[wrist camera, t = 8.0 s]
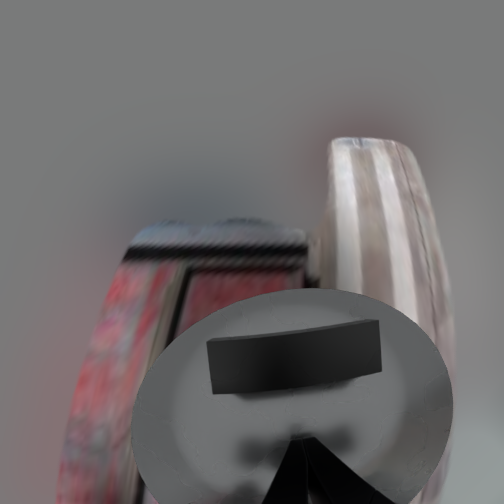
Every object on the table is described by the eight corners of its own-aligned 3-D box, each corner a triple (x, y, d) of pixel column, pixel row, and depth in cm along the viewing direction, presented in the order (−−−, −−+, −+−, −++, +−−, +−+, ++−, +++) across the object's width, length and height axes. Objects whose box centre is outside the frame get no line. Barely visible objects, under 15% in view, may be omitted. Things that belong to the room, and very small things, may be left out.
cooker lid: (423, 507, 7) (438, 525, 5) (175, 539, 7) (164, 562, 6) (434, 269, 10) (463, 261, 8) (121, 304, 10) (93, 302, 8)
